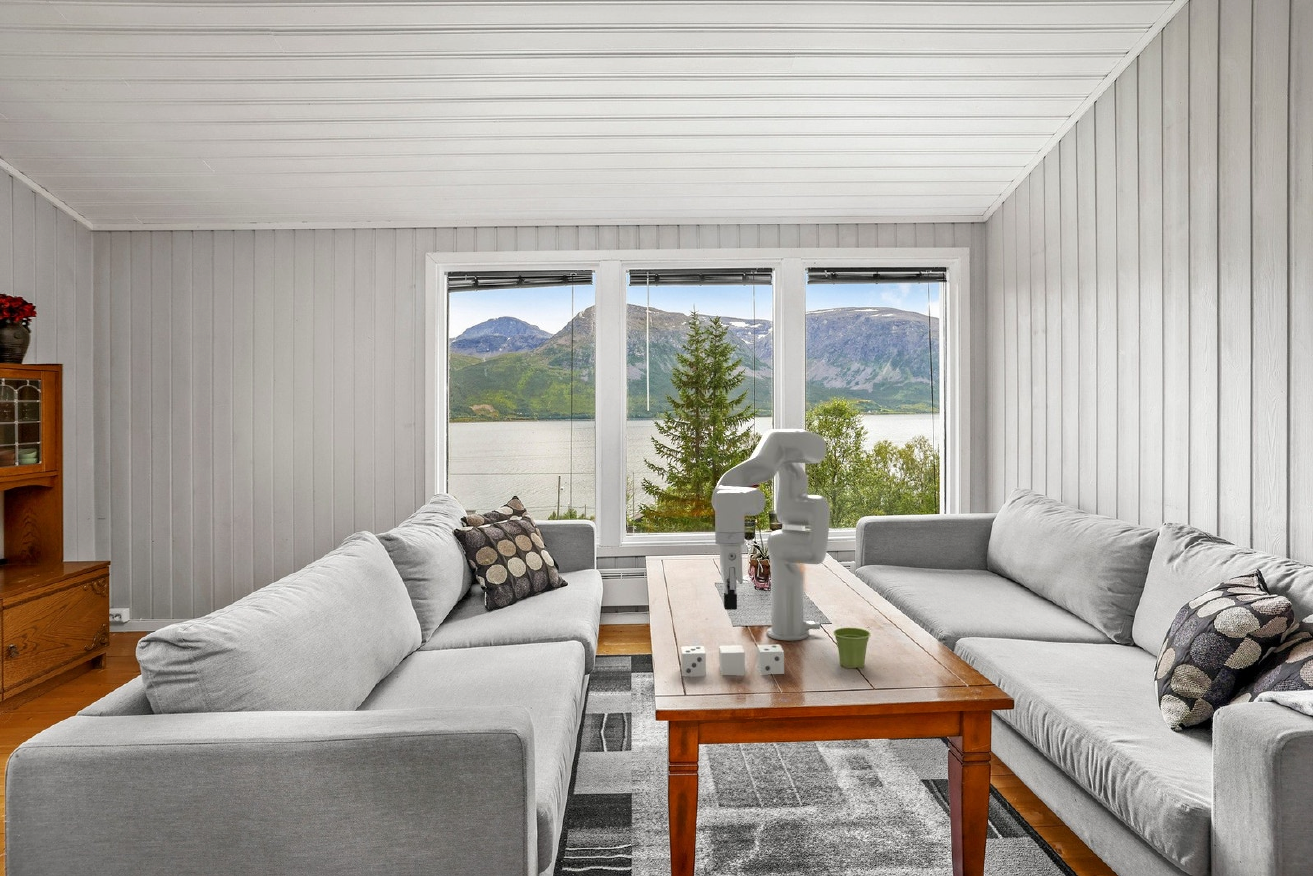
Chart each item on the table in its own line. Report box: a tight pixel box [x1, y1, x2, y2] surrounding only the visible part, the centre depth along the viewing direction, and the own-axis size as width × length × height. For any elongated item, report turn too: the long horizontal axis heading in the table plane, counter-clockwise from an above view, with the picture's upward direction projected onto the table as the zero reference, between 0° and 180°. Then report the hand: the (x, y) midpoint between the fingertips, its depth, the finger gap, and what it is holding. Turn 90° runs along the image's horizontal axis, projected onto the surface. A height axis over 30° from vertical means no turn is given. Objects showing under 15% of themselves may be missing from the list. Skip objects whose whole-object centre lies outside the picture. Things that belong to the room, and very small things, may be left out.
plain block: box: [718, 644, 746, 676], centre depth 202 cm, size 6×6×6 cm
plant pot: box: [833, 627, 871, 669], centre depth 205 cm, size 9×9×9 cm
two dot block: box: [756, 644, 785, 675], centre depth 202 cm, size 6×6×6 cm
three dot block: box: [680, 645, 707, 677], centre depth 201 cm, size 6×6×6 cm
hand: (730, 608), depth 201 cm, fingers closed
